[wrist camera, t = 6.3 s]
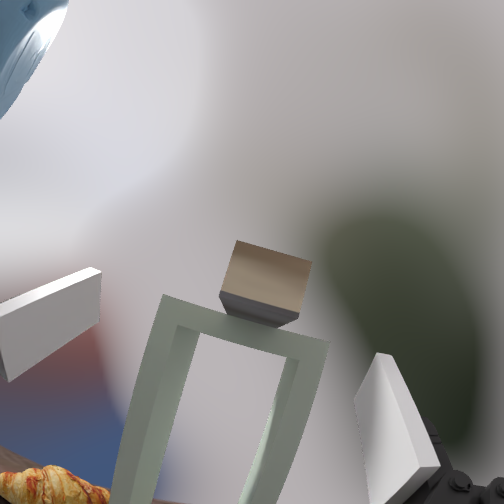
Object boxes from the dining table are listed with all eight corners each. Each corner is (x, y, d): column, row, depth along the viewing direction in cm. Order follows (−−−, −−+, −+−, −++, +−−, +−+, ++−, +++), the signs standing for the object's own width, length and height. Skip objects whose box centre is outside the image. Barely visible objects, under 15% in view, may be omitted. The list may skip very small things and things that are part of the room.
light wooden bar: (297, 318, 14) (312, 261, 15) (218, 295, 14) (236, 240, 15) (262, 334, 37) (268, 312, 38) (232, 325, 37) (239, 303, 38)
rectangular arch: (221, 605, 12) (330, 341, 22) (100, 564, 13) (163, 294, 24) (228, 562, 21) (308, 344, 32) (129, 530, 23) (189, 310, 33)
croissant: (-9, 517, 11) (-12, 503, 10) (-17, 457, 18) (-18, 433, 18) (126, 529, 25) (144, 516, 24) (105, 478, 32) (120, 459, 32)
